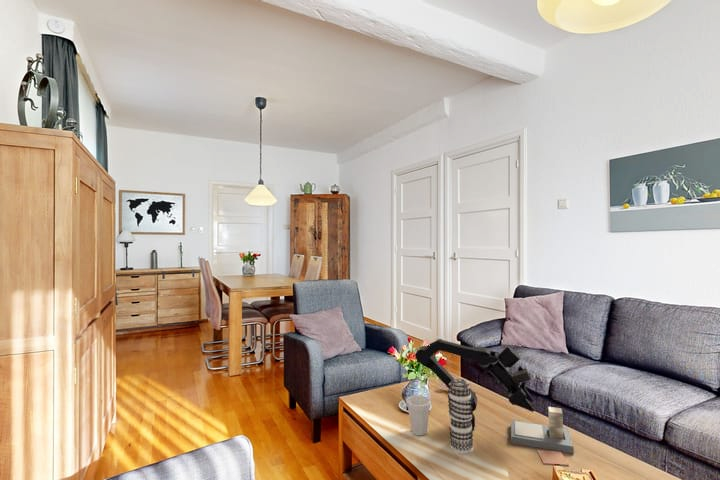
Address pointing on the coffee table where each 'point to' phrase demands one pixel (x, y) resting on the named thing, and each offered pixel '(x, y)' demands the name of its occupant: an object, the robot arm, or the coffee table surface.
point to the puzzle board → (539, 436)
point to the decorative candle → (460, 416)
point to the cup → (418, 413)
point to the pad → (552, 457)
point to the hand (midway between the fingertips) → (532, 406)
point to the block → (555, 422)
